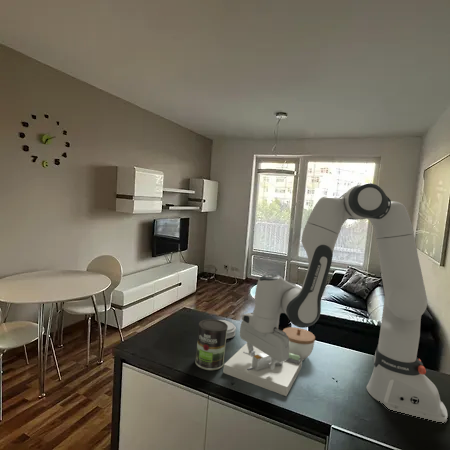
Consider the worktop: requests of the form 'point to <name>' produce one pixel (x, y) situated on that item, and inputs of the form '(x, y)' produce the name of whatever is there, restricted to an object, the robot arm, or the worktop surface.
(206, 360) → the coffee can
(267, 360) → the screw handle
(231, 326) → the lid
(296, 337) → the lidded bowl
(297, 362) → the base
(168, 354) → the worktop surface
